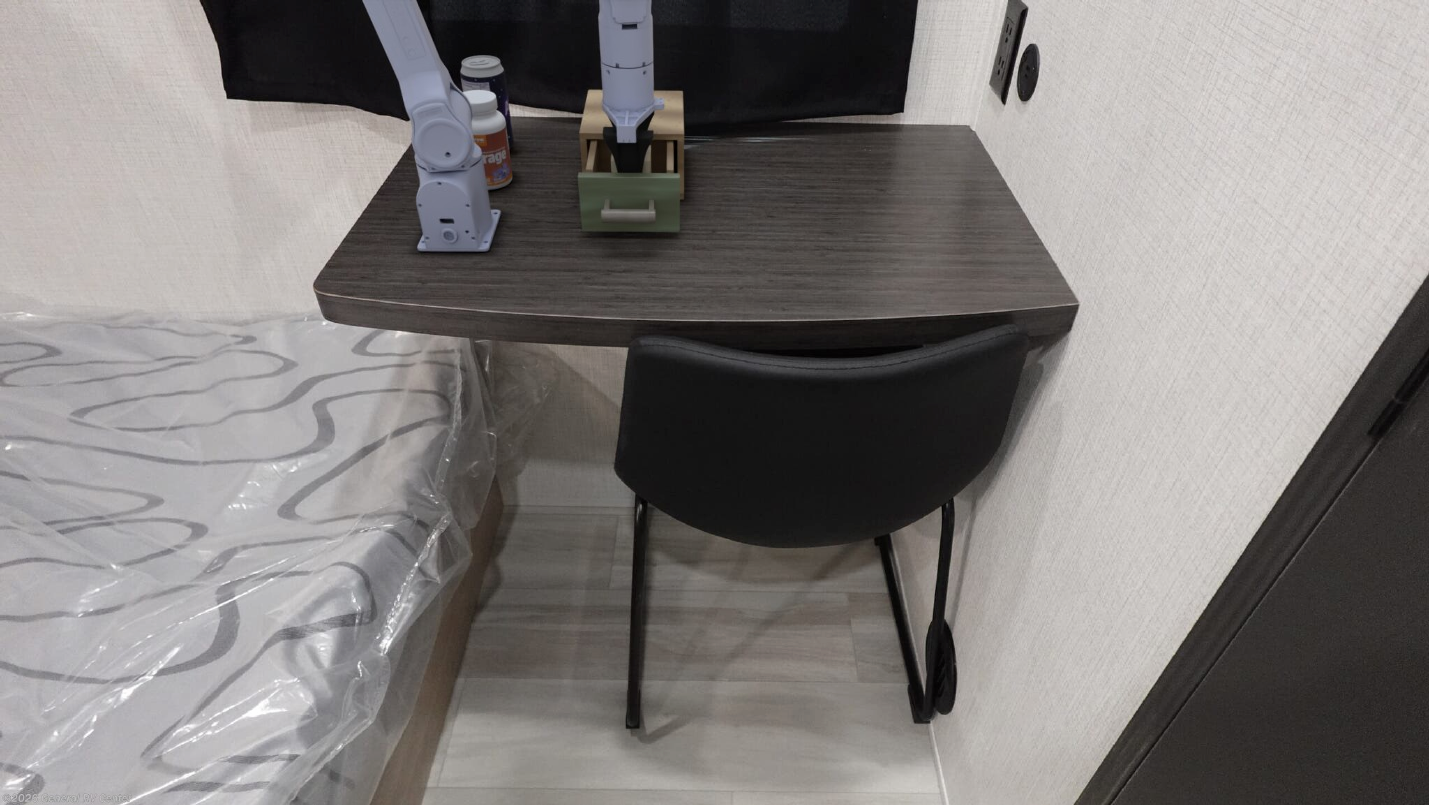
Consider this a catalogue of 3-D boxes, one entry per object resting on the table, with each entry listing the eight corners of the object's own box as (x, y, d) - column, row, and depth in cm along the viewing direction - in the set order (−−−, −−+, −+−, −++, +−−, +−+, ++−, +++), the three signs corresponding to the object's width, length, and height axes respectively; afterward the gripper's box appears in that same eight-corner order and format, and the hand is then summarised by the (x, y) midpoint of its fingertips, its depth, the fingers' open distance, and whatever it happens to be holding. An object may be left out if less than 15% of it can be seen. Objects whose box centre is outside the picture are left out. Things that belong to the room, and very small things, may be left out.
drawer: (680, 250, 95) (680, 194, 90) (578, 249, 94) (574, 193, 90) (678, 181, 108) (678, 130, 104) (590, 180, 108) (586, 129, 103)
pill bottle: (469, 195, 106) (454, 108, 99) (460, 175, 110) (445, 90, 103) (518, 187, 108) (507, 101, 101) (507, 168, 112) (496, 84, 105)
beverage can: (518, 155, 115) (506, 66, 108) (476, 160, 114) (462, 70, 106) (510, 139, 119) (498, 52, 112) (469, 144, 118) (455, 56, 110)
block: (650, 196, 99) (650, 160, 96) (612, 196, 99) (610, 160, 96) (651, 180, 103) (650, 144, 100) (614, 179, 102) (612, 144, 99)
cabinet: (683, 199, 106) (684, 133, 101) (584, 198, 106) (579, 132, 100) (682, 152, 118) (682, 90, 112) (592, 151, 117) (588, 89, 112)
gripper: (663, 83, 86) (664, 205, 94) (664, 40, 97) (665, 152, 106) (594, 82, 85) (602, 205, 94) (603, 39, 96) (609, 151, 105)
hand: (631, 177), depth 100 cm, fingers closed on block, 4 cm apart
